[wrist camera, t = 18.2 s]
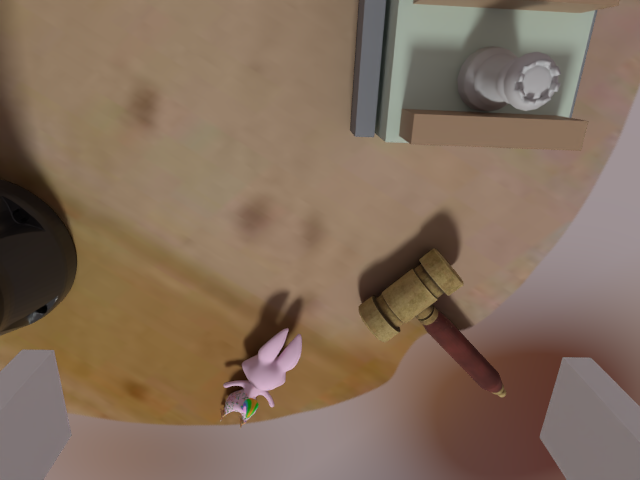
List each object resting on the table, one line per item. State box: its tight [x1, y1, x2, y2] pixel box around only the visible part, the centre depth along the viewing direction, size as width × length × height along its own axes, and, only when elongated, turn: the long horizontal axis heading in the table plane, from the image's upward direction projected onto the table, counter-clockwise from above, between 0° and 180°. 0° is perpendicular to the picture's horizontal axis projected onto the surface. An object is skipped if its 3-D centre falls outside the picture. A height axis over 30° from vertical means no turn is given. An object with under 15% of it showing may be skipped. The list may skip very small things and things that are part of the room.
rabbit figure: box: [220, 328, 302, 429], centre depth 47 cm, size 6×6×15 cm
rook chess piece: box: [457, 46, 561, 111], centre depth 29 cm, size 4×4×8 cm
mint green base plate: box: [375, 0, 620, 151], centre depth 33 cm, size 14×12×10 cm
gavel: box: [359, 249, 506, 397], centre depth 47 cm, size 21×5×10 cm
